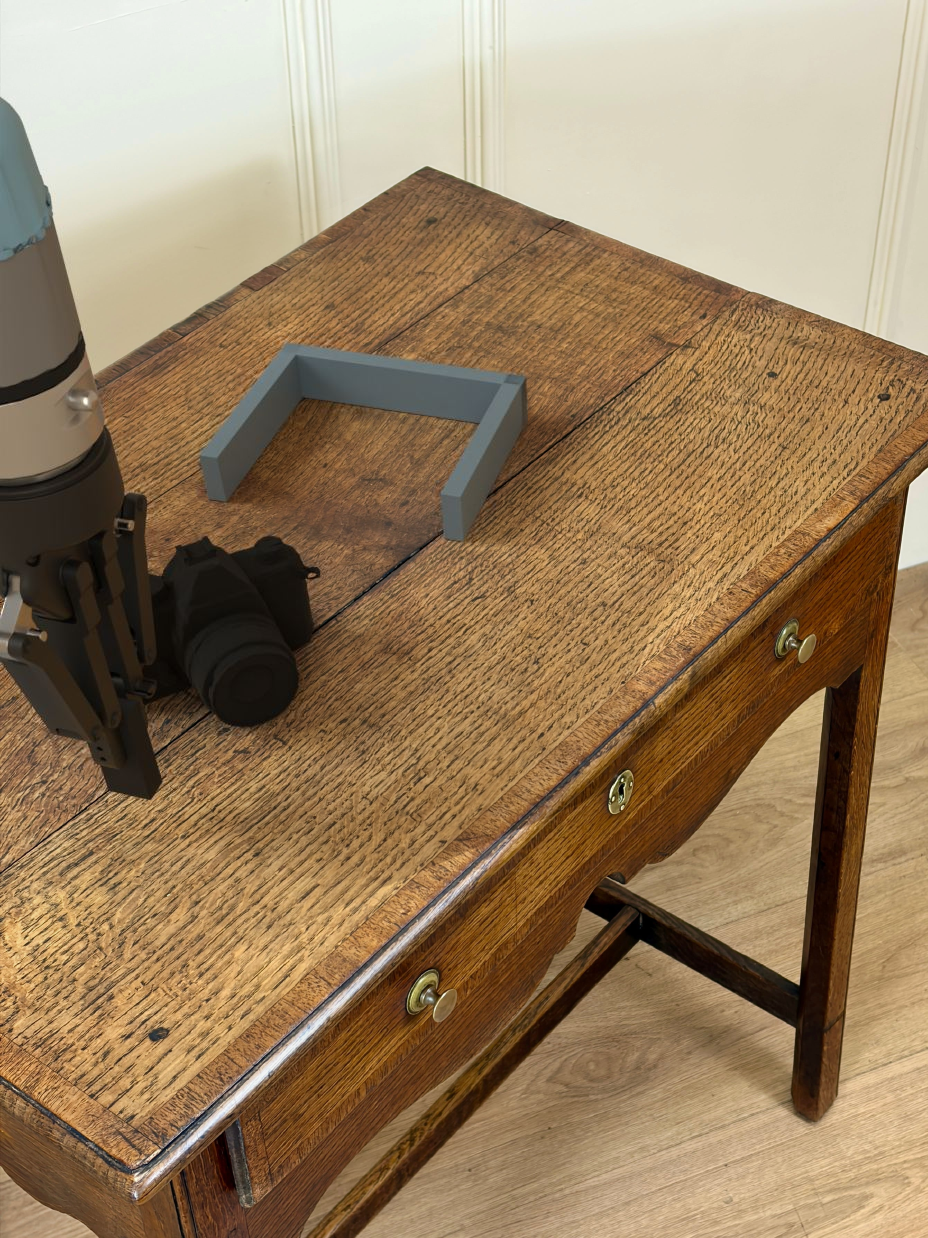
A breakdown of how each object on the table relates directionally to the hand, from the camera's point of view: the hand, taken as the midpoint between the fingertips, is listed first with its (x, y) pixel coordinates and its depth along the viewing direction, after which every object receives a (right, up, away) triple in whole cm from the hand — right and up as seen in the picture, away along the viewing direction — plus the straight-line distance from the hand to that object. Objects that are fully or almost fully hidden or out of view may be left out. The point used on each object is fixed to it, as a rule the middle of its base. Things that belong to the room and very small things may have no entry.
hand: (135, 786), depth 84 cm
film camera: (+3, +6, +10) cm, 12 cm away
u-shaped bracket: (+11, +23, +28) cm, 38 cm away
